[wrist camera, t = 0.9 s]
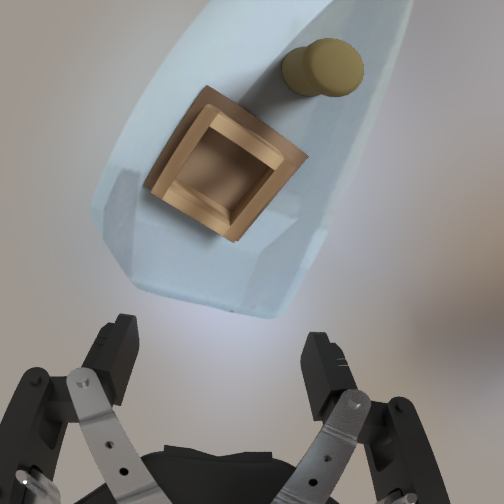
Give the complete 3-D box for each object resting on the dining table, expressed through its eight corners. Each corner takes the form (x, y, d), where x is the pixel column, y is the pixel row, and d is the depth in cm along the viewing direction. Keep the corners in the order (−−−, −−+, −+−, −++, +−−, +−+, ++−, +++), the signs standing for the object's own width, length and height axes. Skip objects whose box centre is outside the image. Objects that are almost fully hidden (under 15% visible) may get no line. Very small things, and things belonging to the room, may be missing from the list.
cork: (269, 71, 26) (281, 64, 17) (306, 36, 24) (335, 16, 15) (310, 106, 29) (340, 119, 19) (345, 73, 26) (389, 72, 17)
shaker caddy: (145, 182, 33) (133, 196, 29) (207, 85, 27) (201, 85, 23) (237, 238, 38) (237, 257, 34) (307, 154, 32) (315, 165, 28)
